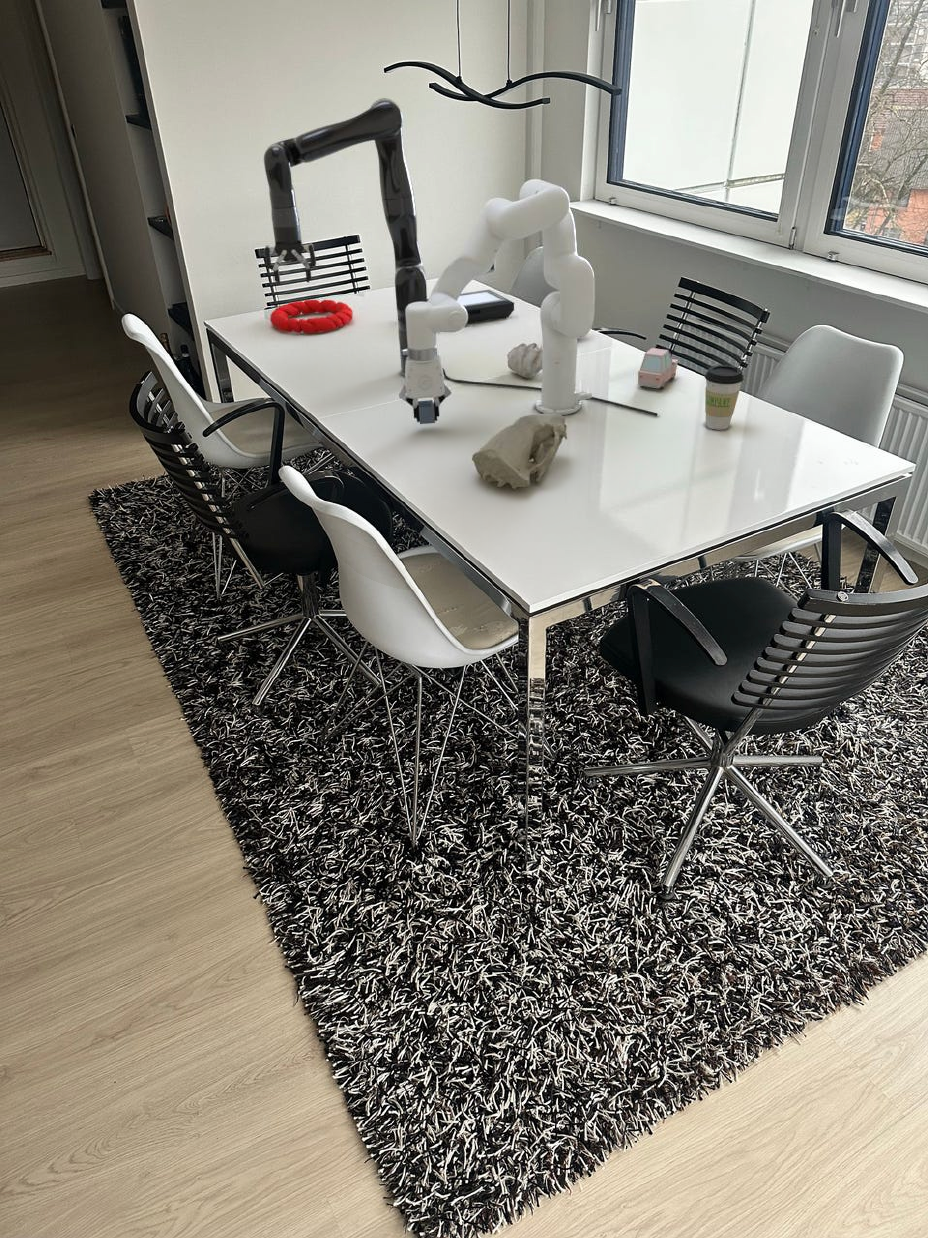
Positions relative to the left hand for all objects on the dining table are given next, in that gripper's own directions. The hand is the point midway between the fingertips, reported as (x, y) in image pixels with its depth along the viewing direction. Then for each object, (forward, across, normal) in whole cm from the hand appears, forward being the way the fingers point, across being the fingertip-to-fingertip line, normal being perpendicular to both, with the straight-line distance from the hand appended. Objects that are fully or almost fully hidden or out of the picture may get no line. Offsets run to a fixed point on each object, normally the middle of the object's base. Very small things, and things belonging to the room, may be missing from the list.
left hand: (293, 282), depth 262 cm
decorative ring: (+29, 0, +61) cm, 68 cm away
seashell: (+29, +69, -10) cm, 75 cm away
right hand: (+26, +35, -47) cm, 64 cm away
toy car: (+29, +106, -22) cm, 112 cm away
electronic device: (+29, +55, +57) cm, 85 cm away
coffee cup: (+29, +112, -57) cm, 129 cm away
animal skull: (+29, +57, -77) cm, 101 cm away
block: (+26, +35, -47) cm, 64 cm away
